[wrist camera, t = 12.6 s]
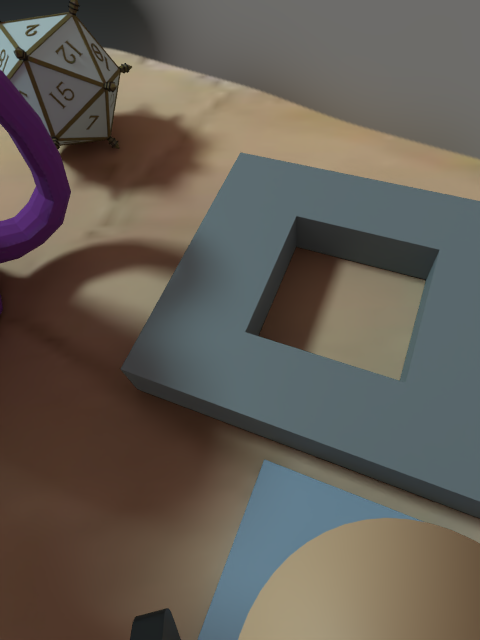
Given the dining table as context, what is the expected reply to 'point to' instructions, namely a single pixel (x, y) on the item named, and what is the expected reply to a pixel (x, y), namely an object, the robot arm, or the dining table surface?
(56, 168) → the mug
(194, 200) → the dining table surface
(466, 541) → the peg
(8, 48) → the game die
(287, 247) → the board
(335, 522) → the pad
